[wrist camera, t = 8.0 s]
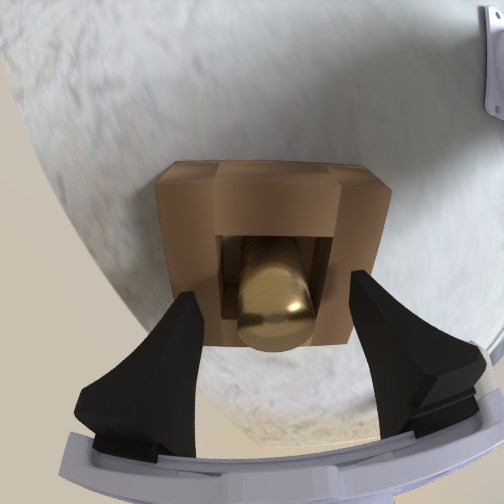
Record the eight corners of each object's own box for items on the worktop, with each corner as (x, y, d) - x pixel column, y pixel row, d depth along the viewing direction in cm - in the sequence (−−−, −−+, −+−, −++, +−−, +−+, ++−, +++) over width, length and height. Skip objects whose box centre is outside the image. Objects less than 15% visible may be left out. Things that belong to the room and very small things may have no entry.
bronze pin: (295, 220, 15) (315, 294, 10) (299, 267, 17) (315, 347, 12) (236, 227, 16) (229, 305, 11) (245, 274, 17) (244, 355, 12)
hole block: (364, 166, 14) (392, 190, 11) (335, 306, 20) (346, 344, 17) (175, 161, 14) (155, 184, 11) (192, 305, 20) (184, 344, 17)
